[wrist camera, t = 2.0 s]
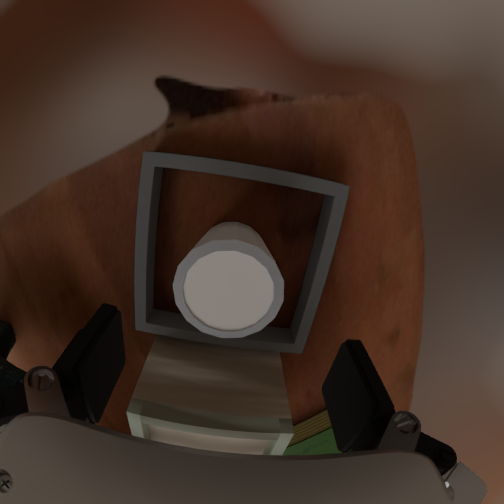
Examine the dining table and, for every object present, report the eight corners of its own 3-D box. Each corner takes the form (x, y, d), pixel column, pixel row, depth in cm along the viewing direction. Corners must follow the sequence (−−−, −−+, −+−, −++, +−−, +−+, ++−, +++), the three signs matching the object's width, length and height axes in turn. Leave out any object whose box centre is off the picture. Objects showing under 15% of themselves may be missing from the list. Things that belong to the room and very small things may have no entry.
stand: (256, 418, 31) (261, 489, 21) (160, 405, 30) (143, 474, 20) (278, 348, 27) (294, 433, 17) (158, 330, 26) (126, 411, 16)
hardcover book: (220, 451, 34) (219, 470, 31) (331, 402, 31) (338, 424, 28) (303, 487, 42) (305, 501, 38) (386, 451, 38) (392, 465, 35)
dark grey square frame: (297, 337, 27) (301, 353, 24) (143, 315, 25) (135, 329, 23) (339, 182, 22) (350, 186, 19) (153, 151, 20) (143, 151, 18)
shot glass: (195, 207, 22) (175, 231, 15) (280, 220, 23) (296, 249, 16) (187, 285, 24) (170, 331, 18) (265, 296, 25) (272, 345, 18)
